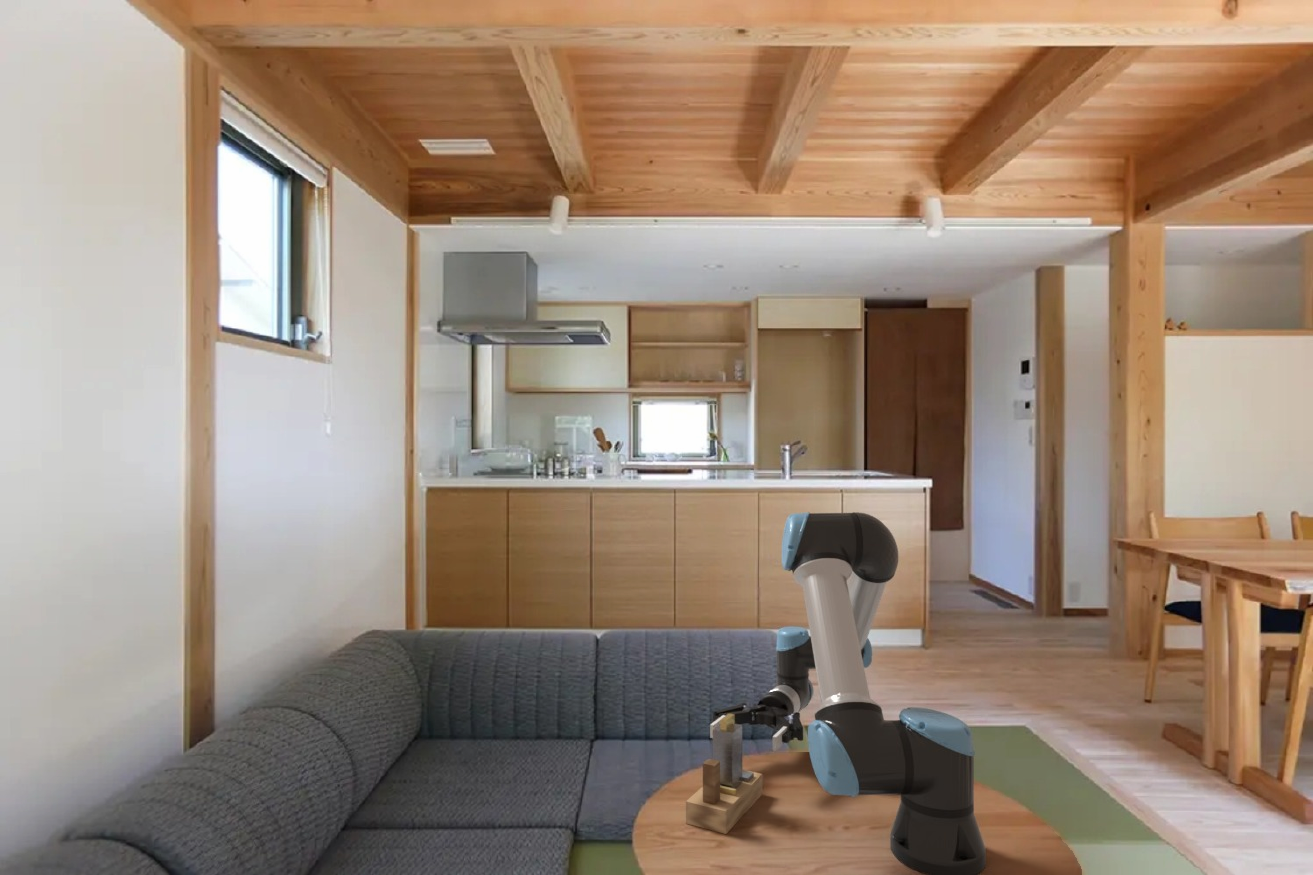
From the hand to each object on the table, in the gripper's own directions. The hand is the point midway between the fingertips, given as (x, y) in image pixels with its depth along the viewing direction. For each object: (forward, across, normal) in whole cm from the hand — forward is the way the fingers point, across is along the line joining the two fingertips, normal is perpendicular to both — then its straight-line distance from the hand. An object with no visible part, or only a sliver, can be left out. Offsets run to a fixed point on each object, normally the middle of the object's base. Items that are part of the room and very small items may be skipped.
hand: (742, 737), depth 153 cm
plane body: (+9, 0, -10) cm, 14 cm away
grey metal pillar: (+8, 0, -6) cm, 10 cm away
